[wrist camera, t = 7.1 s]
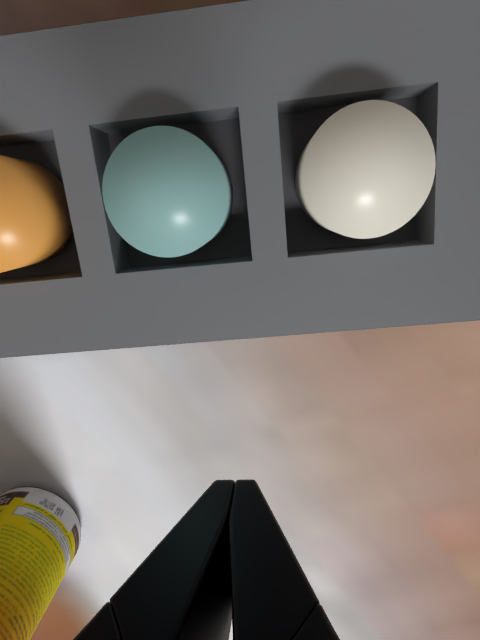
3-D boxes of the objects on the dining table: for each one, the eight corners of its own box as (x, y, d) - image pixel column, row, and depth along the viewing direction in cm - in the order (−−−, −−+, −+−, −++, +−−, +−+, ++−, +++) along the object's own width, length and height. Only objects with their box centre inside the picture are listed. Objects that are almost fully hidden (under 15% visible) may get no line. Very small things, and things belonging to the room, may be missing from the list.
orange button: (62, 153, 17) (18, 142, 14) (83, 258, 18) (46, 269, 15) (-37, 165, 18) (-101, 156, 14) (-11, 267, 19) (-64, 280, 16)
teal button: (227, 134, 17) (219, 118, 14) (238, 243, 18) (233, 251, 15) (122, 146, 17) (91, 133, 14) (139, 253, 18) (114, 262, 15)
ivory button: (404, 113, 16) (437, 91, 13) (403, 227, 17) (433, 232, 14) (291, 126, 16) (298, 108, 13) (298, 237, 18) (306, 244, 15)
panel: (471, 1, 16) (511, -38, 13) (458, 304, 19) (488, 319, 16) (-109, 80, 18) (-170, 60, 15) (-32, 344, 21) (-72, 363, 18)
